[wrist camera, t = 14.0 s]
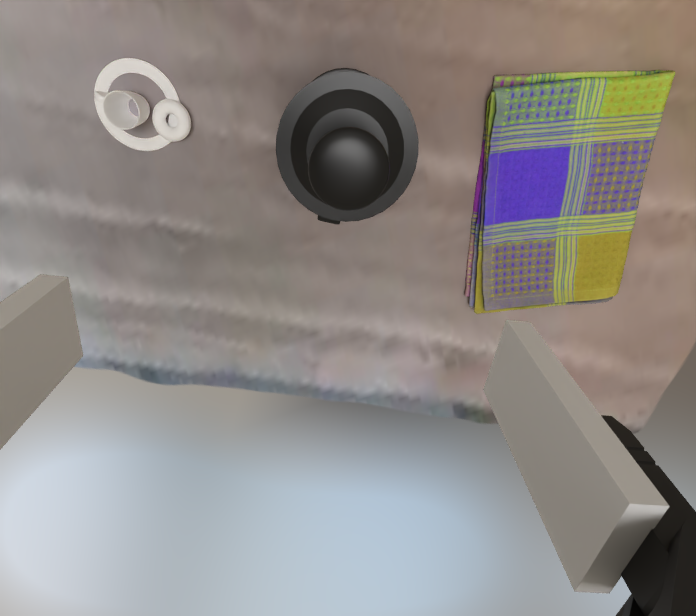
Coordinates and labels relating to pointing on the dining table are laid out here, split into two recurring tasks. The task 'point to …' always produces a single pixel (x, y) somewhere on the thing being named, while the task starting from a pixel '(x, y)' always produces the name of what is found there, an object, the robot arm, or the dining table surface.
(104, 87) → the teacup and saucer
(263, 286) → the dining table surface
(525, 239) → the dish towel
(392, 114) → the french press
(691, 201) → the dining table surface
